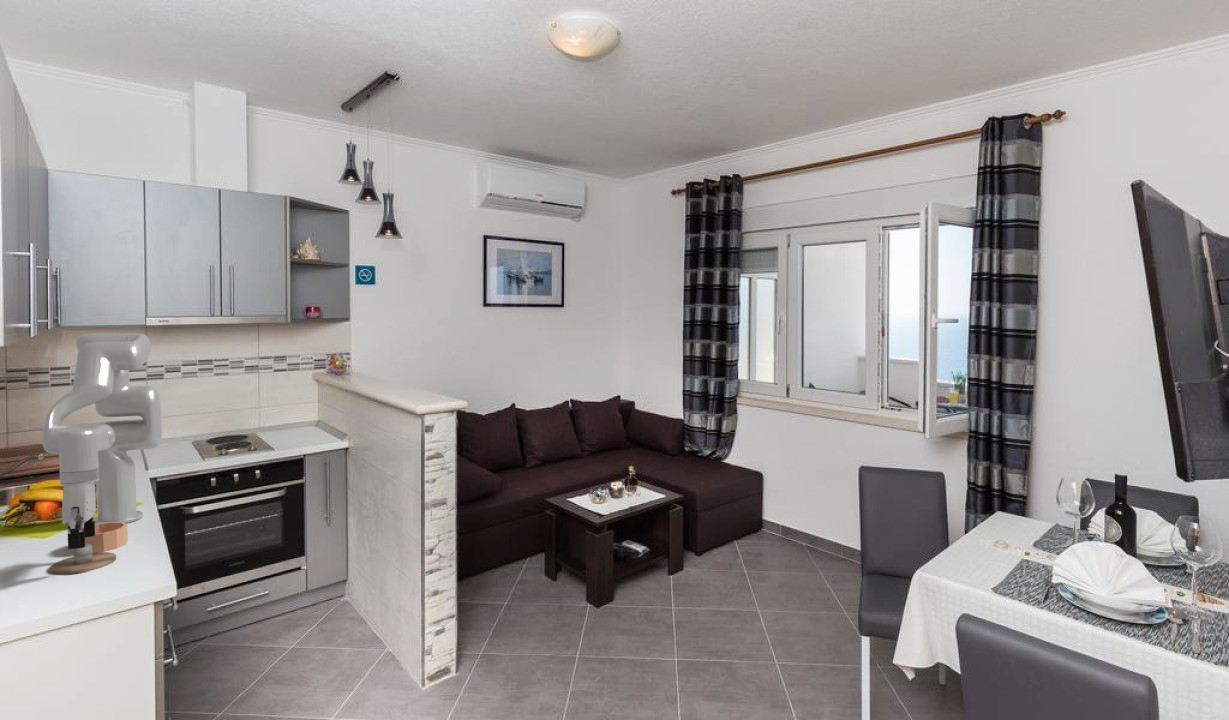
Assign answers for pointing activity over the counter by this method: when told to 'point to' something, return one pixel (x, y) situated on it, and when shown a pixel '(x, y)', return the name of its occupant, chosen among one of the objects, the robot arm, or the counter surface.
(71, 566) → the lid
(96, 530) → the bowl
